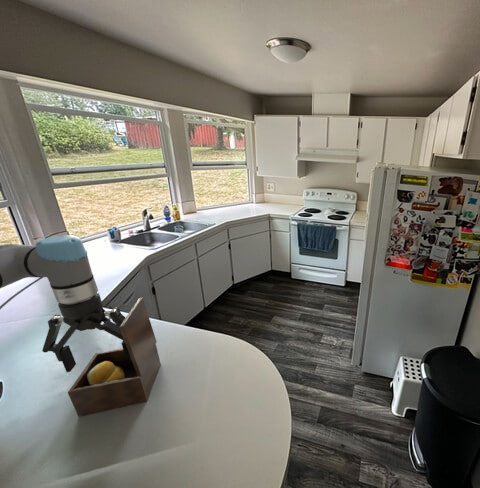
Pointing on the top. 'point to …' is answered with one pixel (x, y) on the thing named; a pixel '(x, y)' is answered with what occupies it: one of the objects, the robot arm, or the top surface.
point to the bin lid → (138, 336)
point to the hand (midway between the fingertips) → (101, 363)
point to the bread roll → (105, 373)
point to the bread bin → (114, 384)
